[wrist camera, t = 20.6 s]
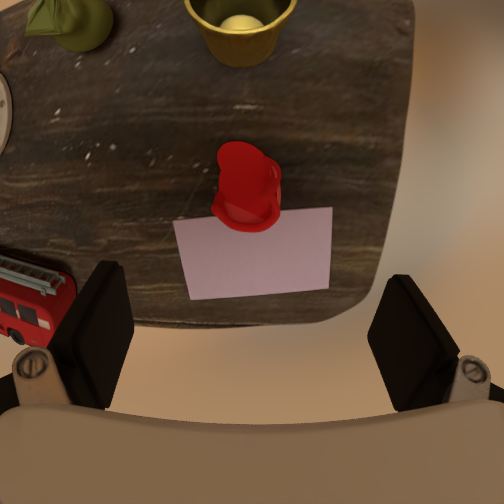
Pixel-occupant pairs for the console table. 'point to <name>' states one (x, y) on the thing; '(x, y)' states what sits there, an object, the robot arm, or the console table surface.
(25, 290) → the toy
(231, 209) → the cap
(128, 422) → the robot arm
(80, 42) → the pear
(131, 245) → the console table surface
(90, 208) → the console table surface
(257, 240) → the cloth
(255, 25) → the vase
